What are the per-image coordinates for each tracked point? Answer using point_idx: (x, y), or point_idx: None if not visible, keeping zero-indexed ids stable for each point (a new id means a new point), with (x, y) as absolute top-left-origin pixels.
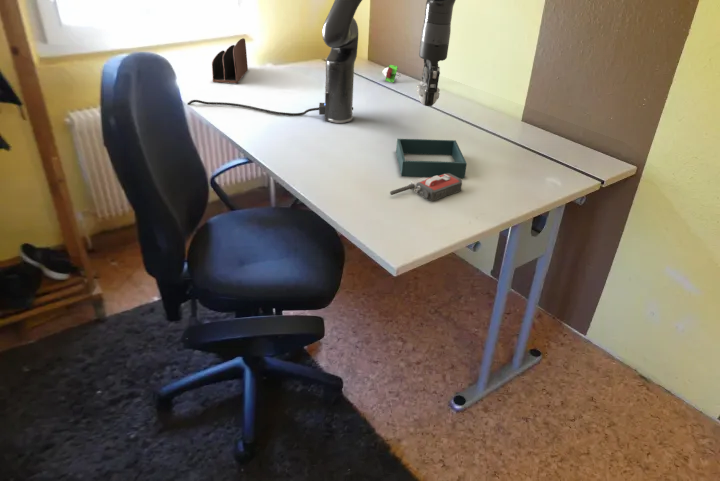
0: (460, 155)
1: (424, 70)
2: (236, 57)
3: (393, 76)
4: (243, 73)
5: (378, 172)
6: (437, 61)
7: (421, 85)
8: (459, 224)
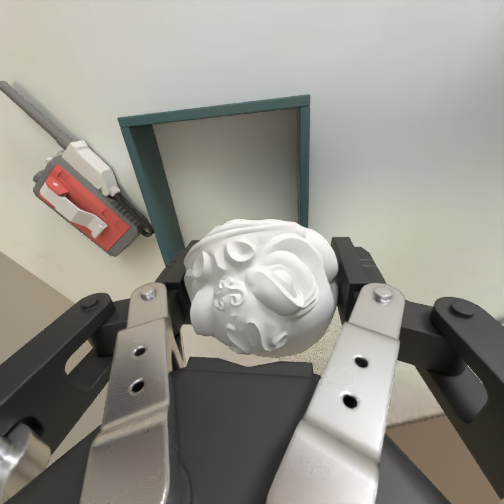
0: None
1: (155, 440)
2: None
3: None
4: None
5: (144, 35)
6: None
7: (211, 274)
8: (2, 227)
